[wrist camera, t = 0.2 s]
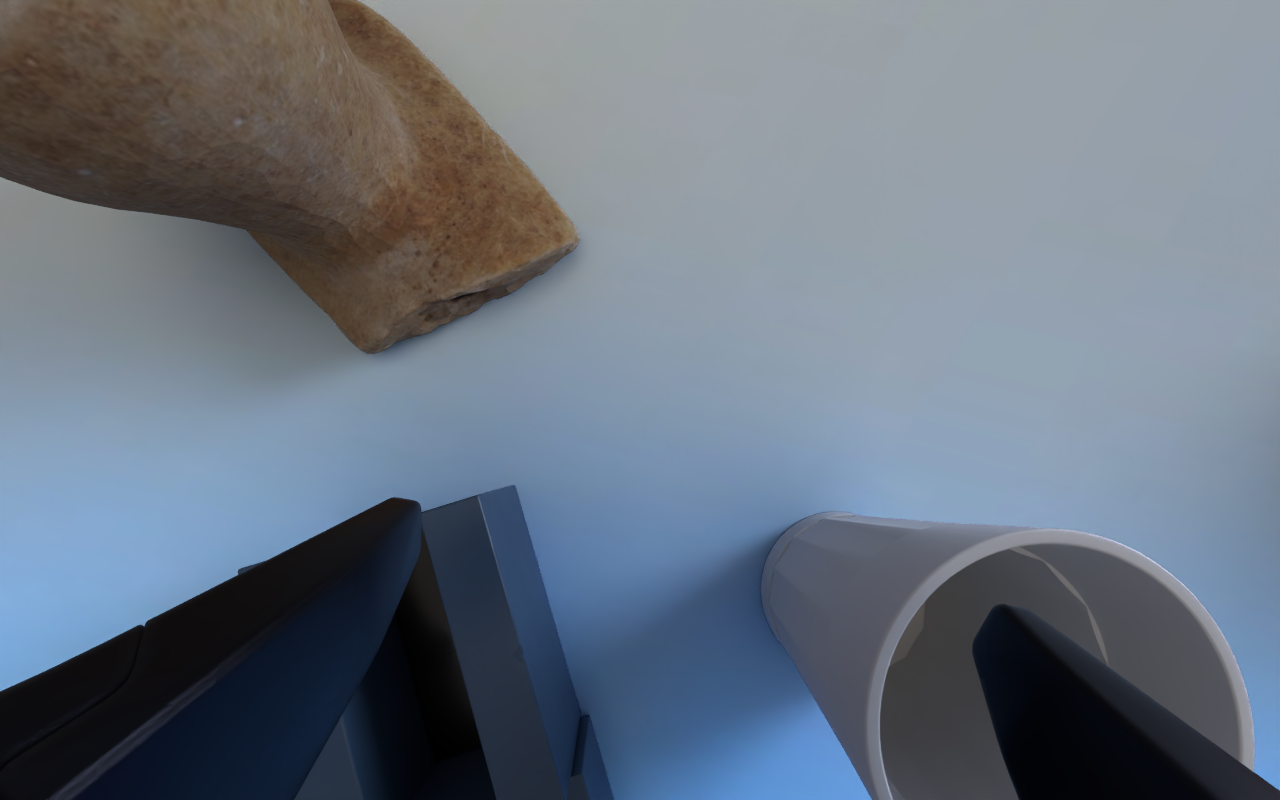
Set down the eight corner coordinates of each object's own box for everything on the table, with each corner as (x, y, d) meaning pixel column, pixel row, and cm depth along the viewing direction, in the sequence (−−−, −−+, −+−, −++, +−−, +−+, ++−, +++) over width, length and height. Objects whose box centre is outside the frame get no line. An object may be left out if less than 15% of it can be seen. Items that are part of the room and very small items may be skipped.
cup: (707, 635, 23) (798, 830, 11) (792, 458, 24) (962, 462, 12) (885, 727, 23) (1170, 1024, 11) (964, 545, 24) (1312, 638, 12)
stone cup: (142, 159, 24) (-628, -313, 9) (369, -4, 25) (2, -670, 10) (365, 435, 23) (-87, 403, 8) (590, 255, 24) (540, -58, 9)
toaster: (581, 714, 23) (567, 807, 17) (397, 775, 22) (315, 893, 16) (514, 484, 23) (478, 494, 17) (336, 539, 23) (236, 569, 17)
